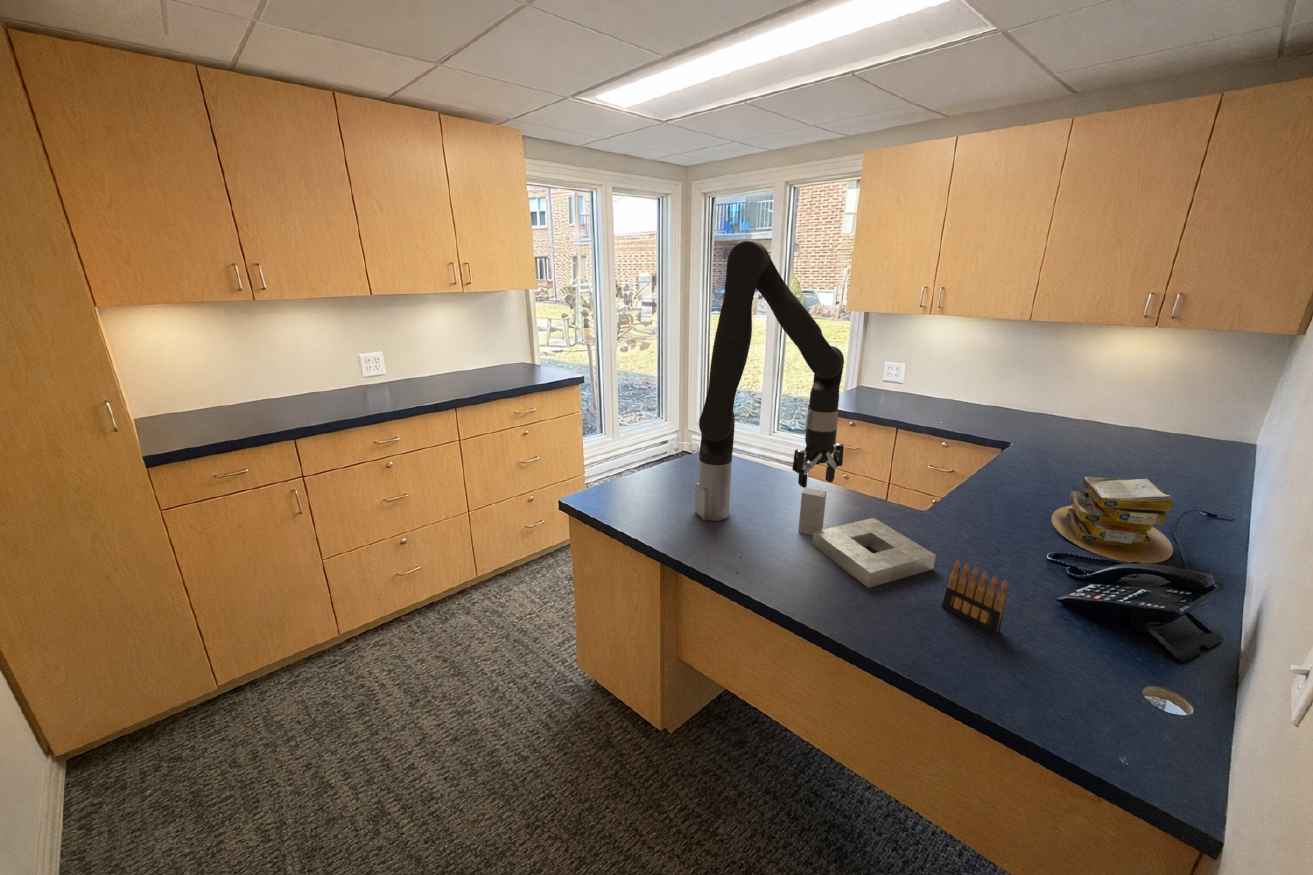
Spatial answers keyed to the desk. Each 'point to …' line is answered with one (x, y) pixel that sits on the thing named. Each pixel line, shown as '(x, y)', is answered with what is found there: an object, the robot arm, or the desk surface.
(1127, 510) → the stacked yellow boxes
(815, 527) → the skincare box
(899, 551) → the frame
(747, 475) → the desk surface
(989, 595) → the ammunition clip
